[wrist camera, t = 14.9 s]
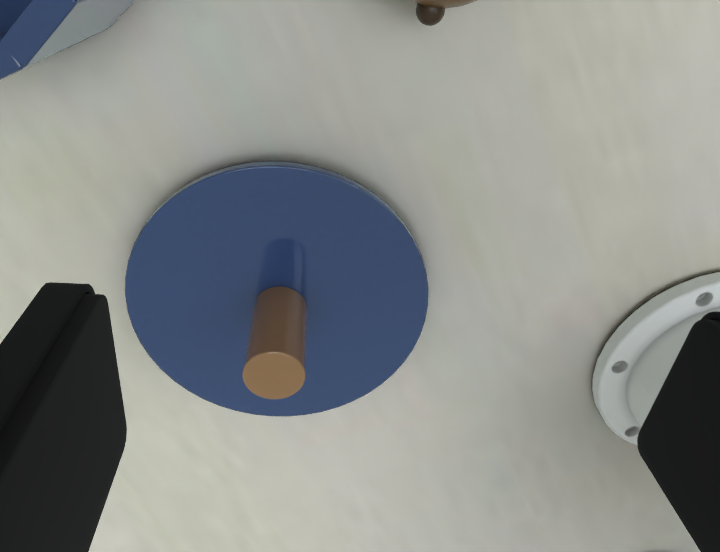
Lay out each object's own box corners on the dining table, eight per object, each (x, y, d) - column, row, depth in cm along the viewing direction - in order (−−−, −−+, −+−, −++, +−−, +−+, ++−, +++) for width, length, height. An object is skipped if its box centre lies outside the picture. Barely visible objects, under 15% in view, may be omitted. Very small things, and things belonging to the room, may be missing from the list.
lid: (453, 176, 26) (489, 238, 21) (396, 409, 34) (411, 498, 28) (122, 136, 24) (68, 194, 19) (138, 392, 32) (103, 486, 26)
